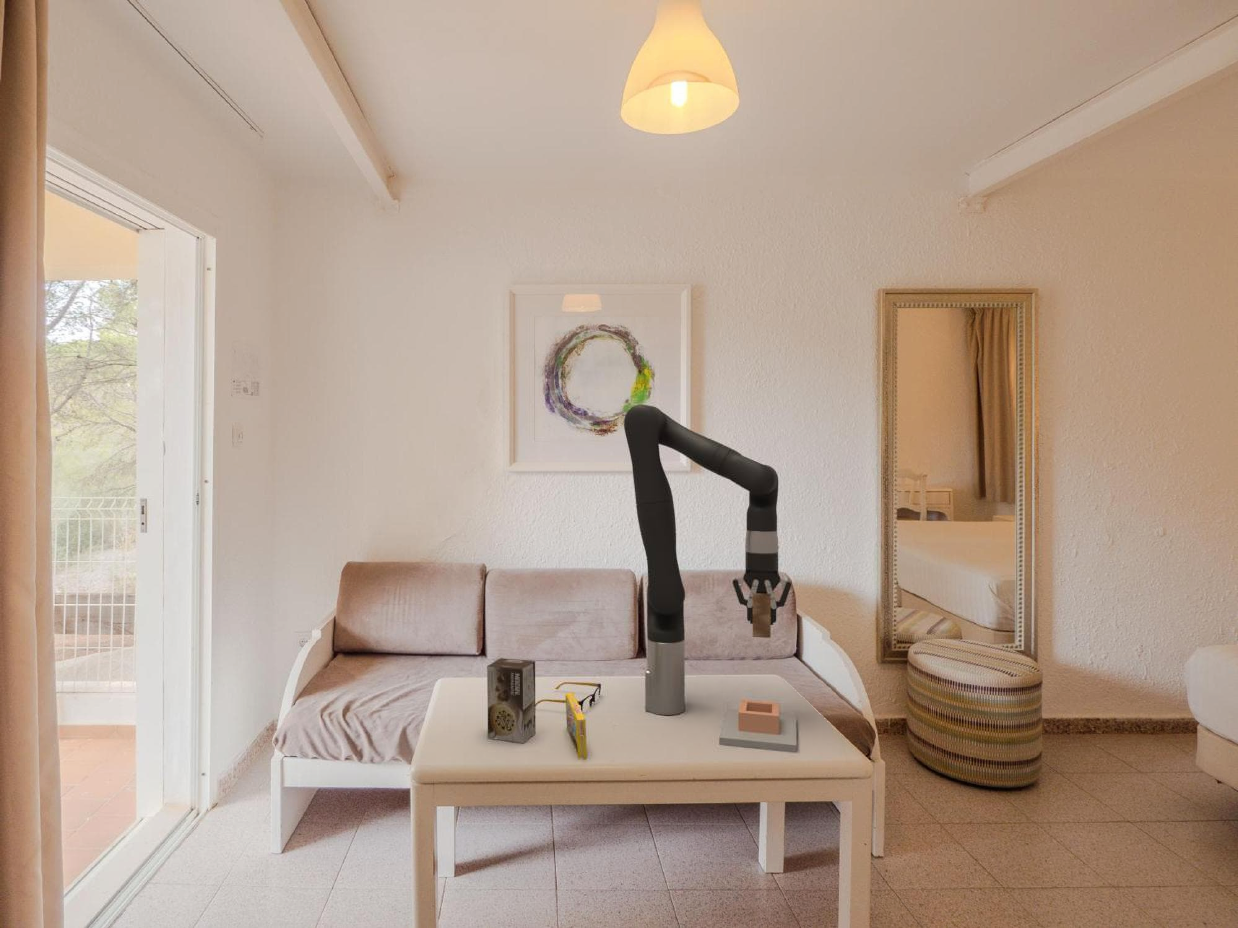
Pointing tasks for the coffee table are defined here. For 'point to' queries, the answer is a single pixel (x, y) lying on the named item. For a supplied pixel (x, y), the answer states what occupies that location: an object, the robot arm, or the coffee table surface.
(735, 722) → the socket block
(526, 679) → the coffee box
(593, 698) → the eyeglasses
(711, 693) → the coffee table surface
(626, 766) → the coffee table surface
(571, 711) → the candy box
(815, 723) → the coffee table surface
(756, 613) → the walnut peg
